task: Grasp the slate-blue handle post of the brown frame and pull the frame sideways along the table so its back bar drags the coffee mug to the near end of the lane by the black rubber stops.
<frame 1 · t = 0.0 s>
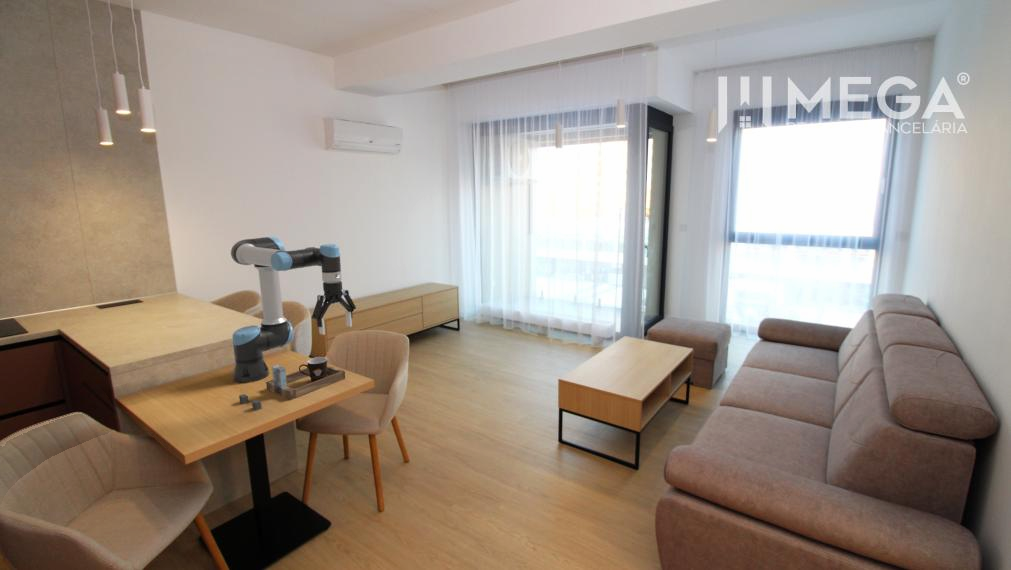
hand: (336, 330, 204), 28 cm above the table, fingers open, 13 cm apart
brown frame: (306, 371, 216), point 6 cm above the table, slide at 0.0 cm
stops: (250, 405, 196), on the table
coffee mug: (315, 381, 221), resting in brown frame
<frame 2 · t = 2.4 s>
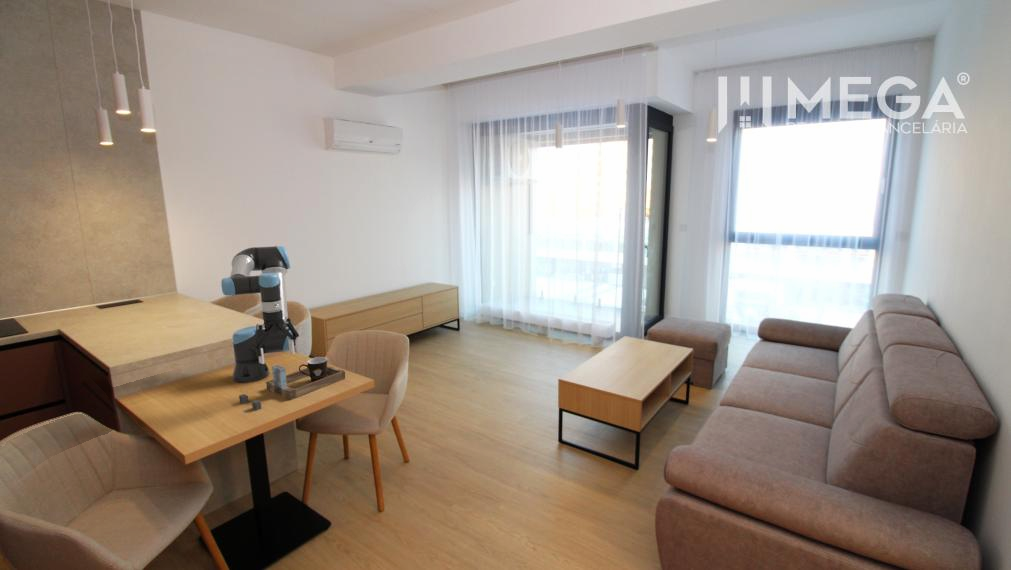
hand: (277, 358, 203), 16 cm above the table, fingers open, 13 cm apart
nothing on the table moved.
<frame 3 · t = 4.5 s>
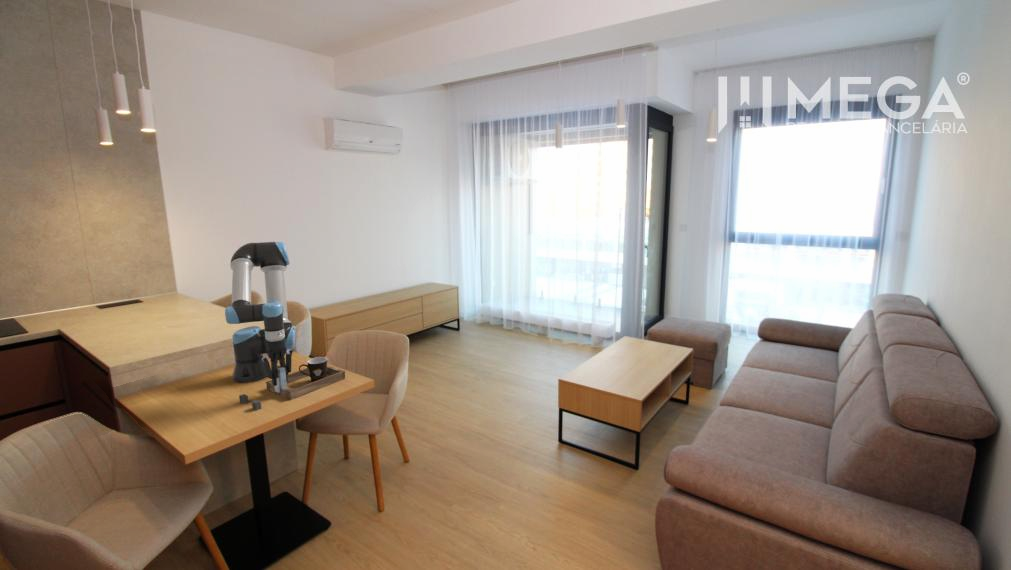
hand: (281, 390, 207), 2 cm above the table, fingers closed on brown frame, 2 cm apart
brown frame: (306, 371, 216), point 6 cm above the table, slide at 0.0 cm, touching gripper
everything else where it was.
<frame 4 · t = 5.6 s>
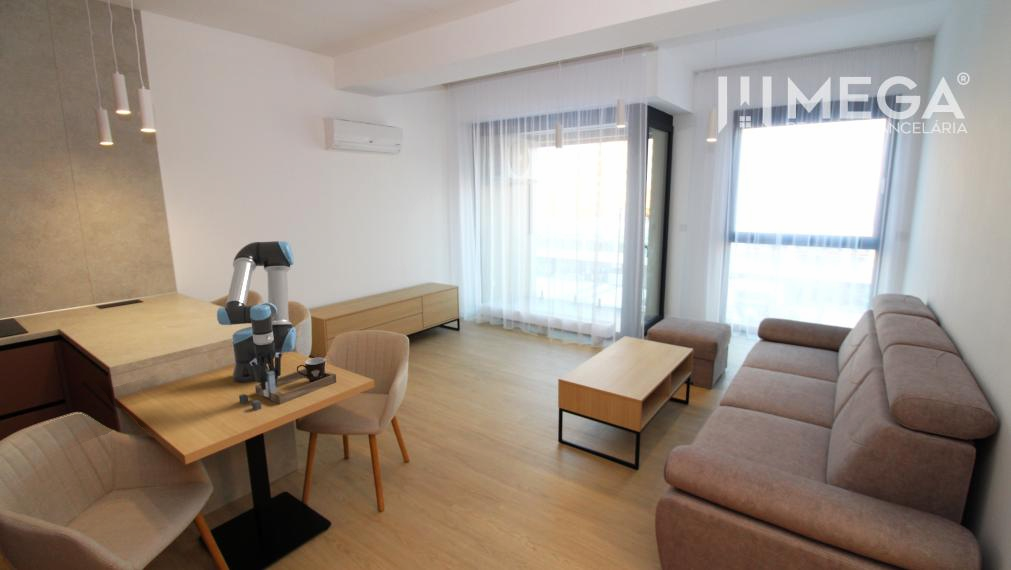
hand: (270, 394, 203), 1 cm above the table, fingers closed on brown frame, 2 cm apart
brown frame: (296, 374, 212), point 6 cm above the table, slide at 5.0 cm, touching coffee mug, gripper
coffee mug: (313, 381, 220), resting in brown frame
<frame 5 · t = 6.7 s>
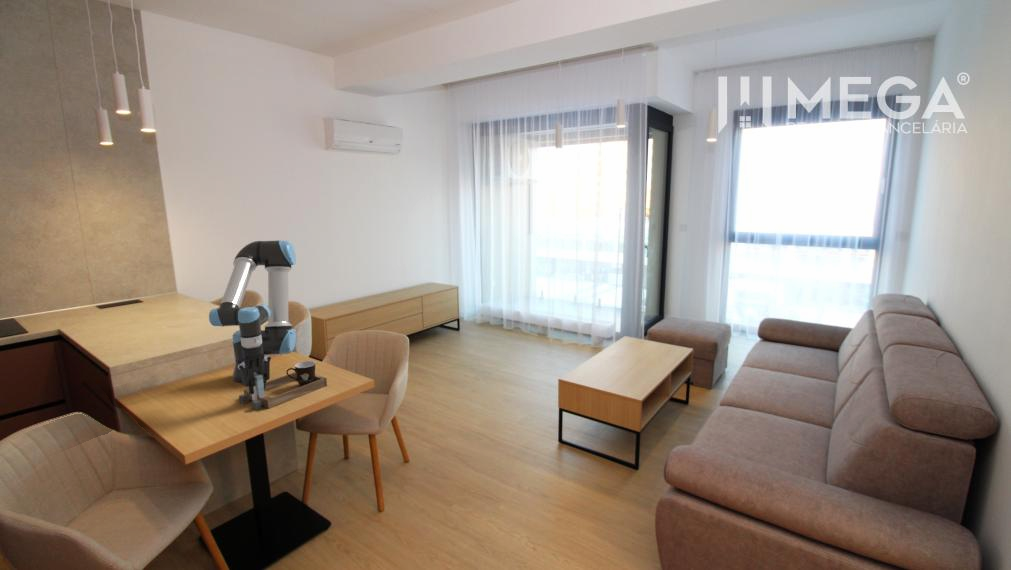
hand: (258, 398, 199), 1 cm above the table, fingers closed on brown frame, 2 cm apart
brown frame: (285, 378, 208), point 6 cm above the table, slide at 9.9 cm, touching coffee mug, gripper
coffee mug: (304, 385, 216), resting in brown frame
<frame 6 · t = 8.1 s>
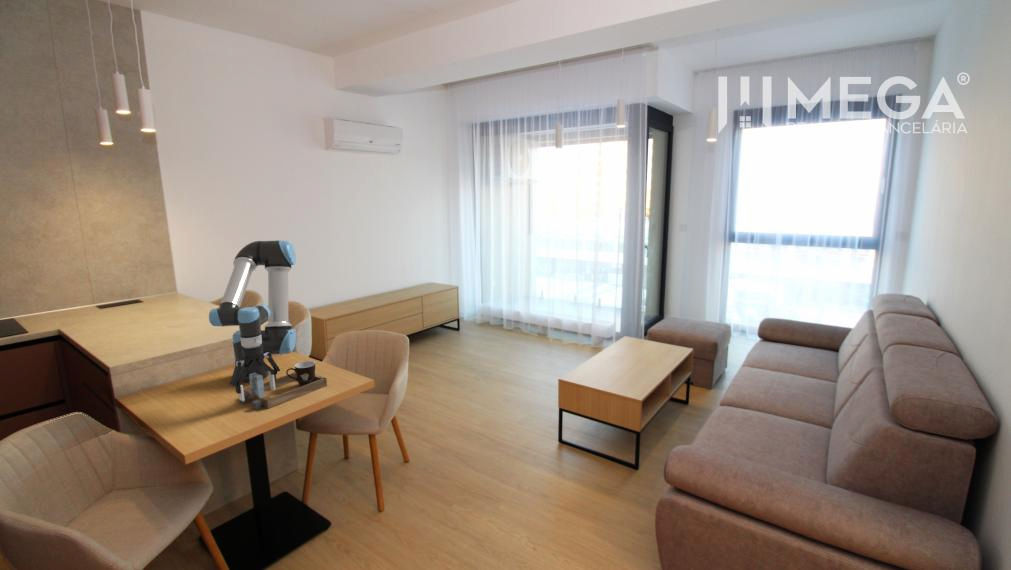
hand: (257, 394, 198), 4 cm above the table, fingers open, 12 cm apart
brown frame: (285, 378, 208), point 6 cm above the table, slide at 10.0 cm
coffee mug: (304, 385, 216), resting in brown frame
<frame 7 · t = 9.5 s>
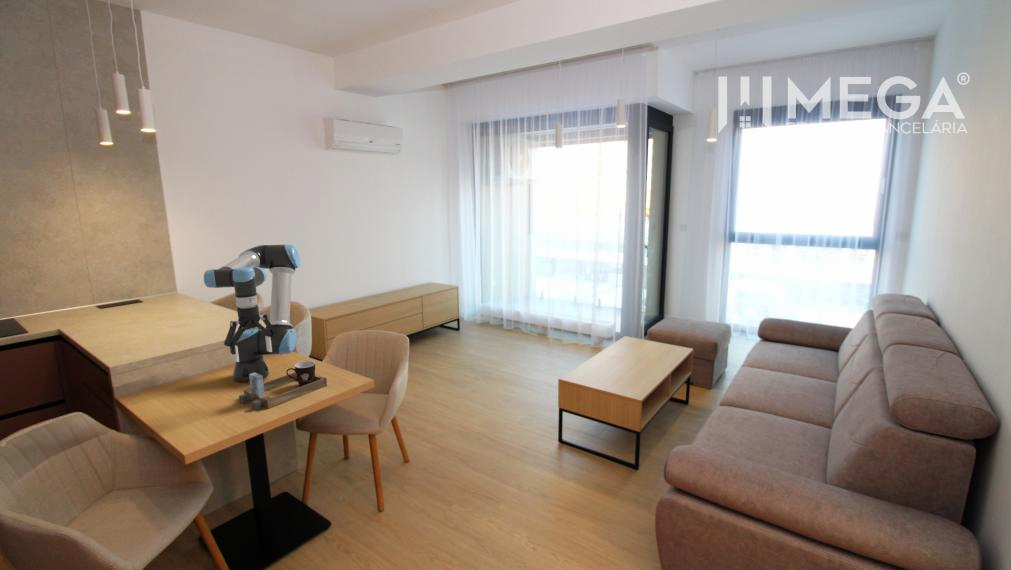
hand: (253, 356, 195), 20 cm above the table, fingers open, 13 cm apart
nothing on the table moved.
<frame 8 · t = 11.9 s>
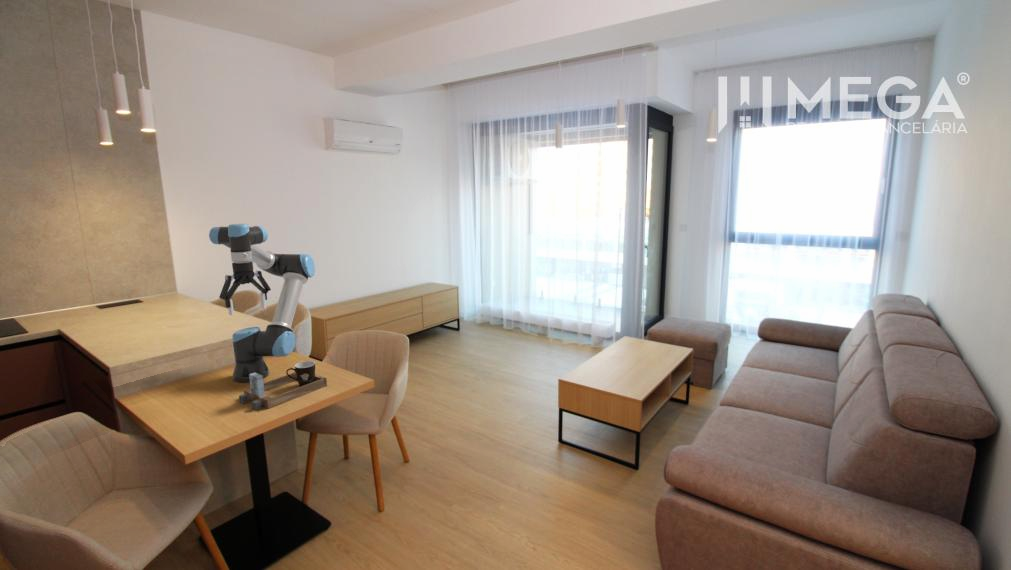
hand: (248, 311, 201), 37 cm above the table, fingers open, 13 cm apart
nothing on the table moved.
at the end: brown frame slide at 10.0 cm; coffee mug inside the target area (4.5 cm from its centre), resting in brown frame; coffee mug tilted 0° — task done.
